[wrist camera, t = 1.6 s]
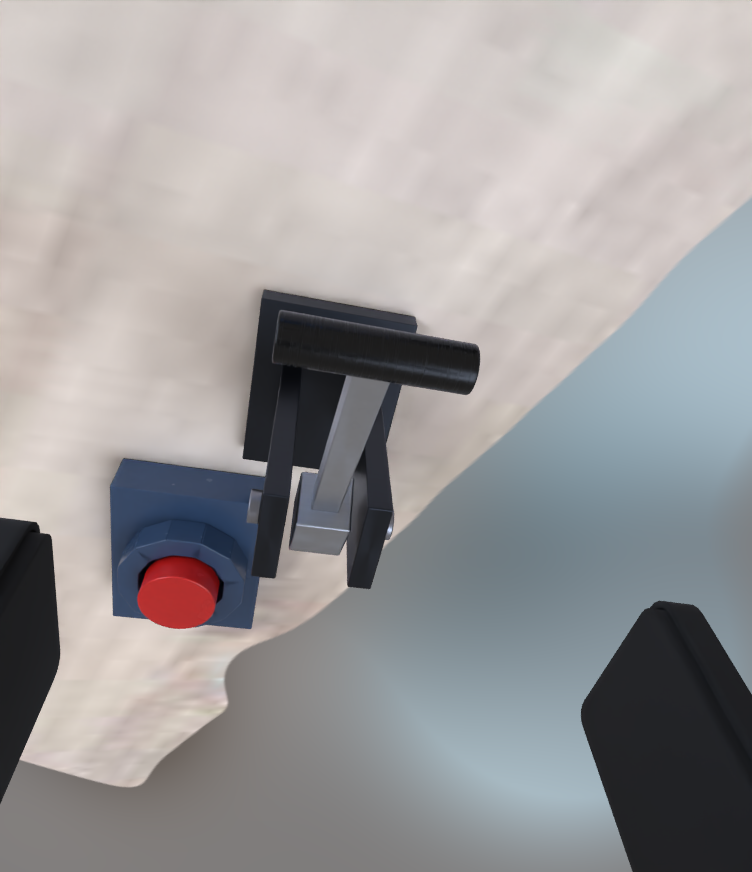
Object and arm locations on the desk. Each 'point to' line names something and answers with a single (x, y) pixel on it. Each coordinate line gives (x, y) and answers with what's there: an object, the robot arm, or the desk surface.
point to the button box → (184, 532)
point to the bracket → (314, 438)
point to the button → (178, 592)
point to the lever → (358, 405)
